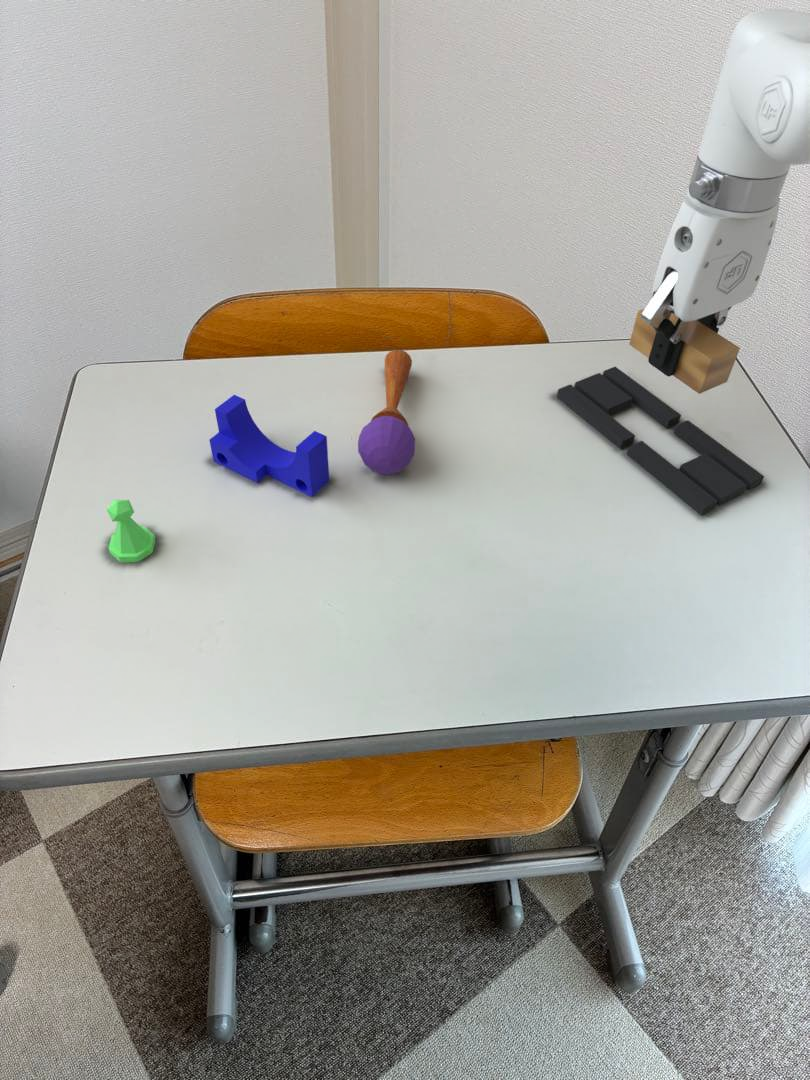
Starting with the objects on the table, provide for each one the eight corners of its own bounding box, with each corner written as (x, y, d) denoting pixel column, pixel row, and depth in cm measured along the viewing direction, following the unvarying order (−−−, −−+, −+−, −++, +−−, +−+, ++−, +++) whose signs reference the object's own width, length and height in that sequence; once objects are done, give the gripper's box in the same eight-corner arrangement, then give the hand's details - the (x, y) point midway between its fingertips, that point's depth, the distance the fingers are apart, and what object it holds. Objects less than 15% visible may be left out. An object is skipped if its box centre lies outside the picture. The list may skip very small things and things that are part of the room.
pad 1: (678, 423, 91) (681, 414, 90) (620, 449, 88) (622, 441, 87) (613, 374, 98) (615, 366, 97) (556, 397, 94) (558, 388, 93)
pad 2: (761, 484, 84) (765, 476, 84) (701, 515, 81) (704, 507, 80) (685, 427, 91) (688, 419, 90) (626, 454, 87) (629, 446, 86)
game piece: (161, 554, 76) (147, 510, 71) (115, 569, 74) (98, 524, 70) (150, 525, 78) (136, 480, 74) (105, 538, 77) (89, 493, 73)
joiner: (727, 381, 80) (740, 347, 77) (699, 394, 78) (711, 359, 76) (656, 333, 86) (666, 300, 83) (628, 344, 84) (637, 310, 81)
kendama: (428, 345, 94) (419, 445, 79) (416, 388, 98) (406, 490, 83) (378, 334, 93) (360, 432, 78) (369, 377, 97) (350, 478, 82)
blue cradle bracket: (213, 461, 85) (204, 416, 81) (241, 439, 88) (234, 394, 83) (302, 505, 81) (298, 461, 76) (329, 480, 83) (326, 436, 79)
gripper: (699, 222, 63) (643, 407, 77) (834, 179, 70) (760, 356, 83) (633, 187, 67) (591, 368, 81) (766, 148, 74) (707, 322, 87)
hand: (677, 360), depth 82 cm, fingers closed on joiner, 4 cm apart
